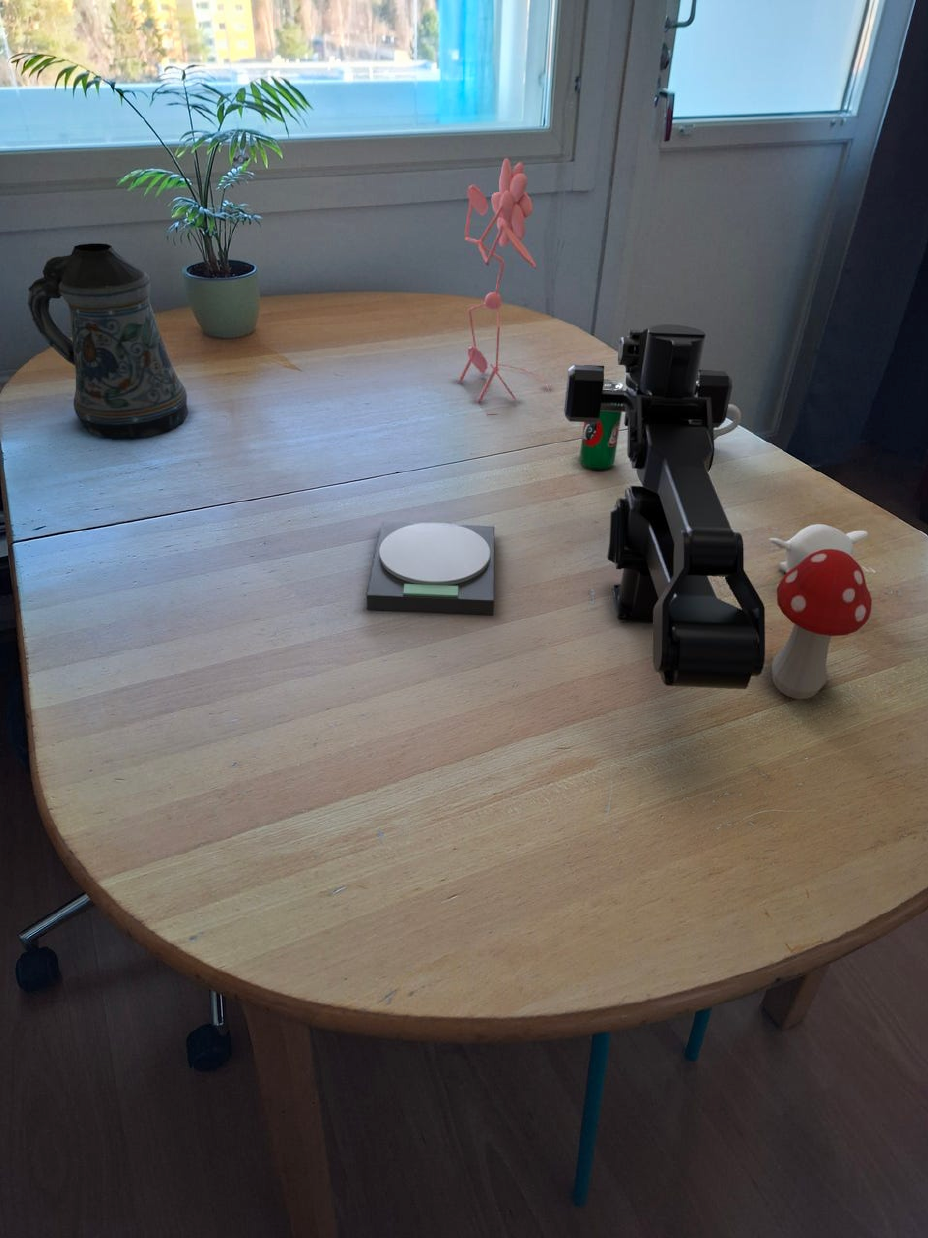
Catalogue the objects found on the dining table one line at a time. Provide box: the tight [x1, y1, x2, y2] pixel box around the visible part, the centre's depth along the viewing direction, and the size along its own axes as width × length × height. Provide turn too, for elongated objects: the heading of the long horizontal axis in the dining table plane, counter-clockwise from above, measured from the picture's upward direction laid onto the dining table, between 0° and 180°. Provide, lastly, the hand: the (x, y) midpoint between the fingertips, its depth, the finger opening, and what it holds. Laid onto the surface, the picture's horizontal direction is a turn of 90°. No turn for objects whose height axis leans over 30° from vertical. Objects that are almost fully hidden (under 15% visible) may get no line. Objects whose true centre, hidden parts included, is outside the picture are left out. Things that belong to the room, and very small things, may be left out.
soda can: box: [579, 378, 624, 471], centre depth 124 cm, size 5×5×12 cm
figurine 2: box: [768, 523, 876, 574], centre depth 101 cm, size 12×8×10 cm
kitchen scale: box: [366, 521, 495, 616], centre depth 102 cm, size 16×14×3 cm
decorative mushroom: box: [771, 549, 873, 700], centre depth 85 cm, size 10×9×15 cm
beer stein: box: [27, 242, 189, 440], centre depth 127 cm, size 16×19×25 cm
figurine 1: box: [458, 157, 550, 416], centre depth 139 cm, size 15×26×35 cm, turn 21°
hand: (636, 374), depth 109 cm, fingers open, 9 cm apart
